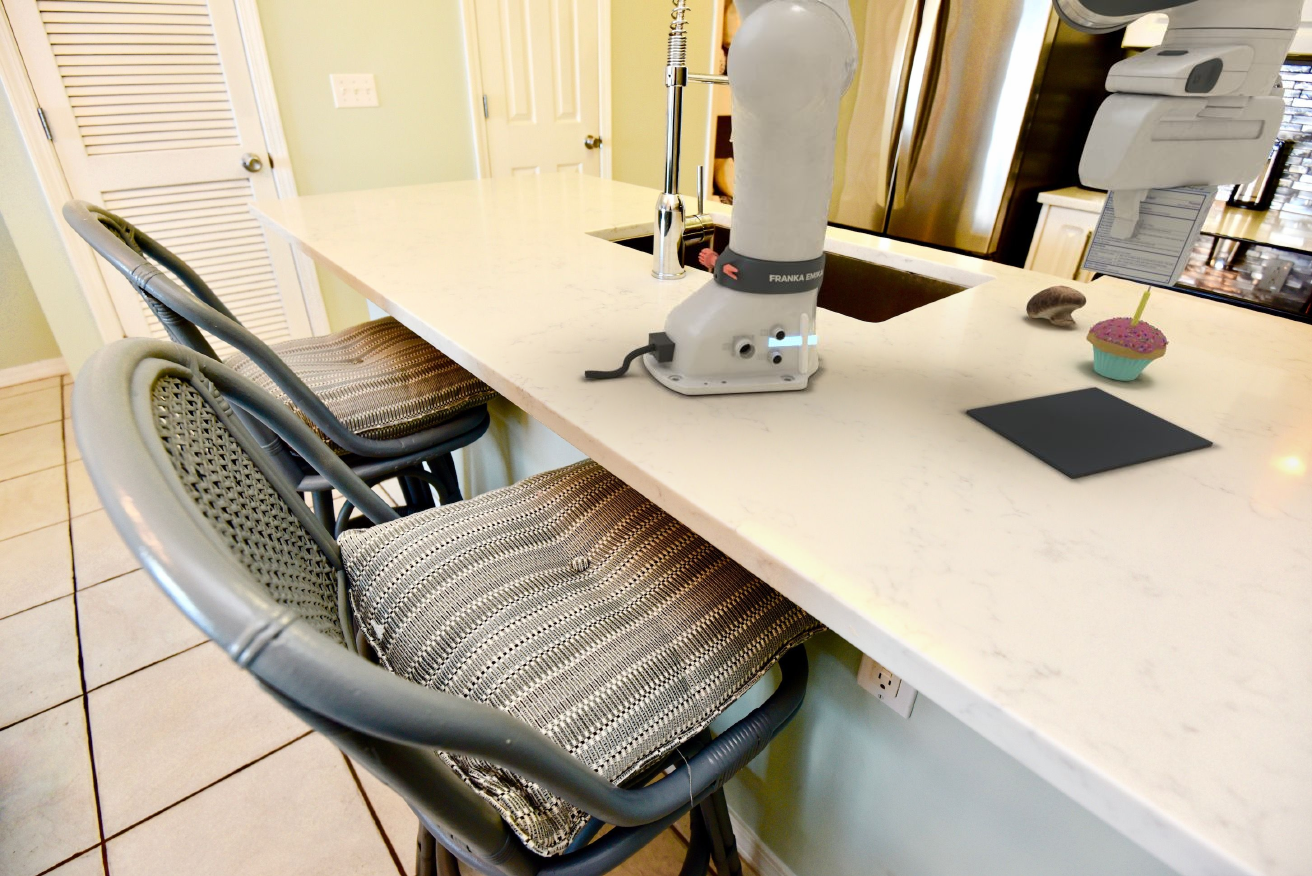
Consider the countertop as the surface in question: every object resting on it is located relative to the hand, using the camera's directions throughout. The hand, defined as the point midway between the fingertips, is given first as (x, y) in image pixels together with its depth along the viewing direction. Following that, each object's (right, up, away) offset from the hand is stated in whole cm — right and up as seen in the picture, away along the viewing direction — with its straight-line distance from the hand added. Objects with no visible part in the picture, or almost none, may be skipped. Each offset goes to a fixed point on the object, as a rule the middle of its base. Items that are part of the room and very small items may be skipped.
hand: (1148, 235), depth 64 cm
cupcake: (+12, -11, +22) cm, 28 cm away
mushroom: (+13, -2, +38) cm, 41 cm away
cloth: (-1, -18, +9) cm, 20 cm away
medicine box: (0, -3, +2) cm, 4 cm away
